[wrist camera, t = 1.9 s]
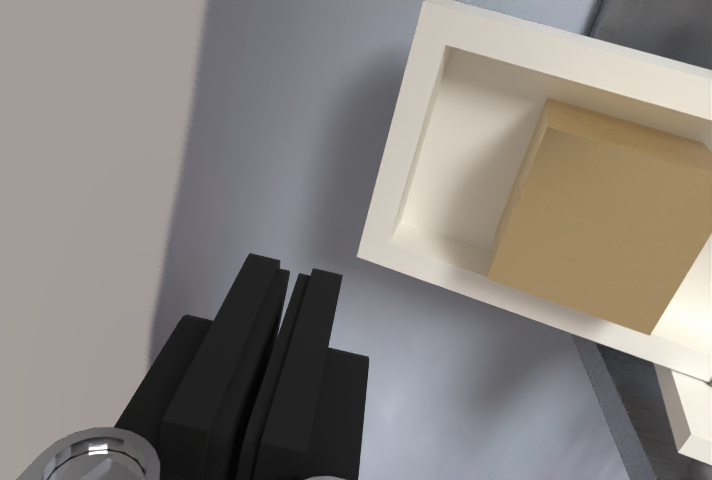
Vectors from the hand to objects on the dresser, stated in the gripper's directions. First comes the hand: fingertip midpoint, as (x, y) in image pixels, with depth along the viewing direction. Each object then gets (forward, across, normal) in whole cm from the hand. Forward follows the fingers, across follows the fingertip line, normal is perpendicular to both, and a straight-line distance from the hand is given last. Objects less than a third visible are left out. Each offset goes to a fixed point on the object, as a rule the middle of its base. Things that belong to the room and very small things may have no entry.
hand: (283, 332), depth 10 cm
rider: (+10, -9, -1) cm, 14 cm away
